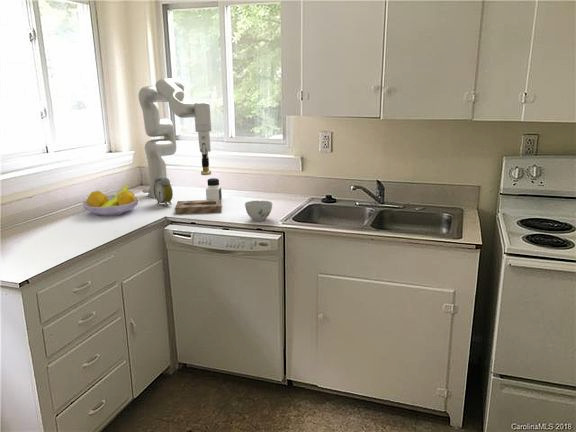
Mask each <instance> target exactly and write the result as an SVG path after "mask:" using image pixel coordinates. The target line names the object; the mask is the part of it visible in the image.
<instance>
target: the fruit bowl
mask: <svg viewBox="0 0 576 432" xmlns="http://www.w3.org/2000/svg"><path fill="white" fill-rule="evenodd" d="M138 202H139V198H138V196H136V195H135V193H134V192H132V191H131V190H129V184H128V183H126V185H125V186H124V187H123V188H122V189H121V190H120V191H118V192H117V193H116V194H115V195H113V194H112V195H111V194H109V195H106V194H105V193H103V192H101V191H99V190H95V191H91V192H90V194H89V195H88V197H87V199H86V200H83V201H82V202H81V206H82V207H83V209H84V210H85V211H86V212H87V213H91V214H94V215H96V216H100V217H101V216H118V215H121V214H124V213H126V212H129V211H131V210H133V209H134V208H135V207H137V205H138V204H139V203H138Z"/></svg>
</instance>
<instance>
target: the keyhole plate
mask: <svg viewBox="0 0 576 432" xmlns="http://www.w3.org/2000/svg"><path fill="white" fill-rule="evenodd" d="M174 210H175V215H190V214H193V213H194V214H212V213H213V214H214V213H218V214H219V213H222V199H221V200H206V199H200V200H178V201H177V202H176V205H175V207H174Z"/></svg>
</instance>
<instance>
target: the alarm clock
mask: <svg viewBox="0 0 576 432" xmlns="http://www.w3.org/2000/svg"><path fill="white" fill-rule="evenodd" d="M154 195H155V198H154V199H155V200H156V201H157V205H159V204H164V206H165V208H168V204H170V205H172V202H171V201H172V200H173V196H174V194H173V188H172V185H171V180H170V179H169V178H168V177H167V178H163V177H162V176H158V177H156V179H155V184H154Z"/></svg>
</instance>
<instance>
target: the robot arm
mask: <svg viewBox="0 0 576 432" xmlns="http://www.w3.org/2000/svg"><path fill="white" fill-rule="evenodd" d="M184 91H185V85H184V83H183V81H182V80H181V79H179V78H160V79H158V80H157V81H156V83H155V85H148V86H147V85H146V86H143V87H142V88H141V89H139V92H138V101H139V104H140V108H141V110H142V114H143V115H142V117H143V122H144V123H143V124H144V130H145V133H146V136H147V137H150V138H155V139H150V140H147V141H146V142H145V144H144V152H145V155H146V159H147V167H148V180H149V188H142V189H141V190H142V194H143V193H144V194H147V197H148V198H152V199H156V198H155V195H154V184H155V179H156V177H158V176H162V177H163V178H168V177H167V176H168V175H167V165H166V162H165V160H164V159H163V158H162V157H167V156H172V155H174V154H175V153H176V151H177V140H176V133H175V131H176V130H175V126H174V124H173V121H172V120H171V119H169V118H161V117H160V110H159V108H158V107H157V106H156V104H155V103H168V107H169V109H170V111H171V112H172V113H173V114H174V115H176V116H177V117H179V118H181V119H184V118H186V119H187V118H190V119H191V118H194V127H195V128H194V130H195V132H197V133H198V137H197V138H198V145H199V152H200V153H201V167H202V168H203V167H209V168H210V166H209V165H210V160H209V159H210V157H209V153H211V150H212V149H211V136H210V132H212V118H211V105H210V103H209V102H207V101H184V98H185V93H184ZM157 137H163V138H157ZM202 151H203V152H202ZM206 151H208V152H206Z"/></svg>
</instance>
